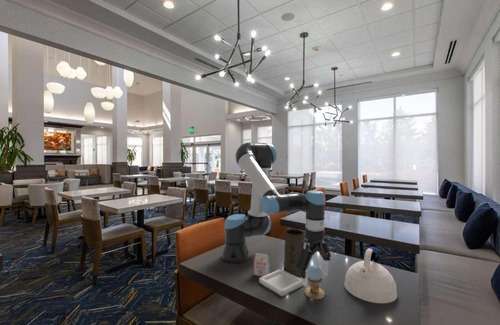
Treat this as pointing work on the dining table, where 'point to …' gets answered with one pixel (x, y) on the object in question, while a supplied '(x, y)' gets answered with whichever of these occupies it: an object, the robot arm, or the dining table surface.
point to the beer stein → (293, 250)
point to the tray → (281, 282)
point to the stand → (314, 289)
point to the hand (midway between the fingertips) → (314, 280)
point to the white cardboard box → (261, 265)
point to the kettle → (370, 280)
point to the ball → (314, 273)
